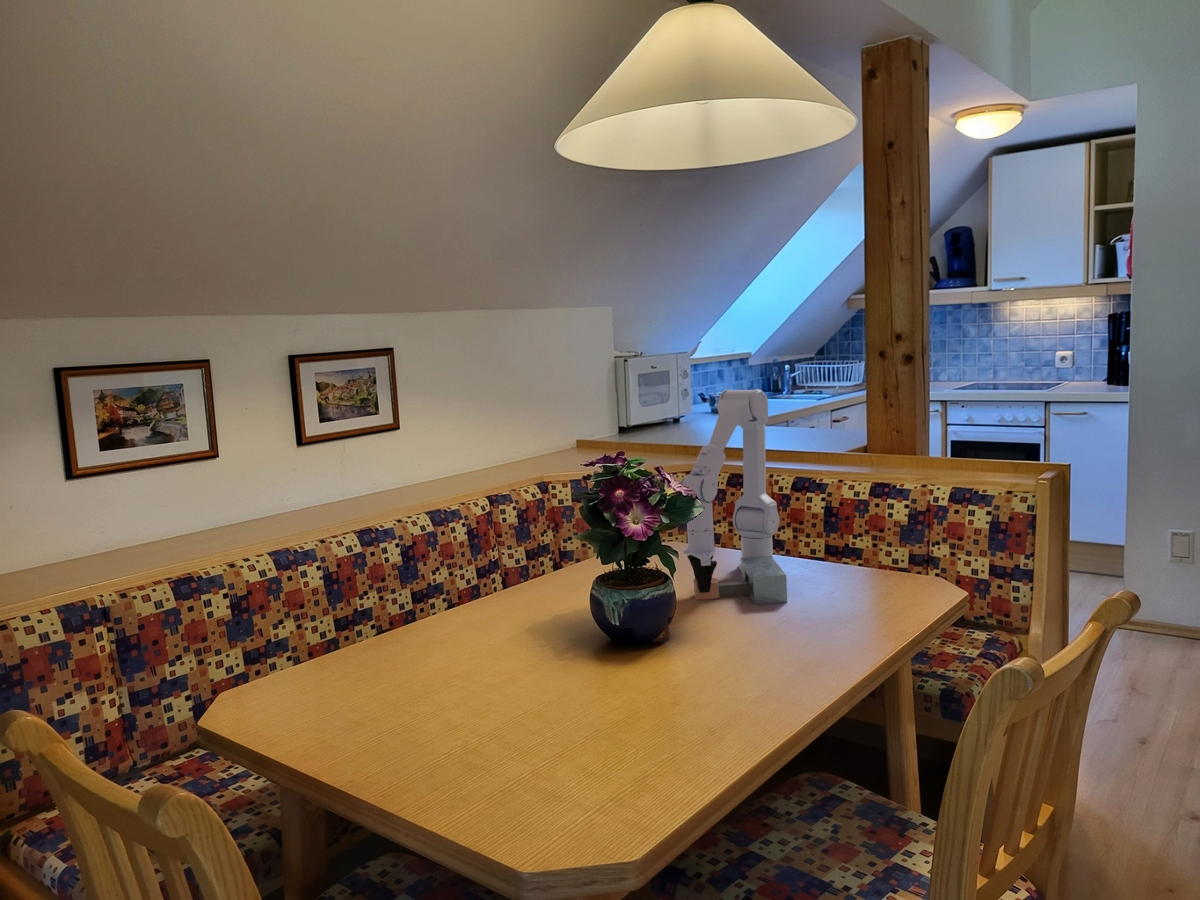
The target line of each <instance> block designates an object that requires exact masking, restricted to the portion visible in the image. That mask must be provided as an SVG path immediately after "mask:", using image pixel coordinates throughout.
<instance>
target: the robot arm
mask: <svg viewBox="0 0 1200 900" xmlns="http://www.w3.org/2000/svg"><path fill="white" fill-rule="evenodd" d="M716 405H717V411H718V416H717V420H716V423H715V426H714V428H713V431H712V433H711V436H710V437H711V438H710V440H709V443H708V444H707V445H704V446H702V447H701V448H700V451H699V453H698V455H697V458H696V460H695V462H694V464H693V467H692V469H691V471H690V472H689V473H690V474H687V475H686V476H685V477H683V478H682V480H681V481H680V485H683V486H686V487H689V488H691V489H692V490H694V491H695V493H696V494H697V497H698V499H699V501H701V502H702V503H703V505H704V506H705V510H704V511H703V512H702V513H701V514H700V515H698V516H697V517H696V518H694V519H693V520H691V521H689V522H688V523H687V522H686V529H687V534H686V535H687V548H683V549H682V554H687V559H688V560H689V564H690V565H691V568H692V570H693V571H692V572H693V574H694V579H697V584H698V588H699V591H700V593H705V592H710V587H711V580H712V578H713V575H714V572H715V569H716V568H717V564H718V563H717V561H716V560H713V558H714V554H716V547H715V535H714V534H715V533H714V532H715V531H714V529H715V528H714V512H713V511H714V510H713V508H714V507H713V501H714V500H715V498H716V496H717V494H718V487H719V486H718V485H719V478H718V476H719V474H720V472H721V469H722V468H723V465H724V463H725V461H726V457H727V456H726V453H725V452H724V450H725V448H726V447H727V445H728V443H729V441H730V440H731V438H732V435H733V433H734V432H735V430H736V428H737V427H738V426H739V427H741V429H742V460H743V461H742V469H743V470H742V471H743V472H742V473H743V474H742V476H743V481H742V482H743V494H742V495H741V496H740V497H739V498H738V499H737V500H736V501H735V502H734V511H733V515H732V524H733V528H734V529H735V530H736V531H737V532H738V536H741V537H740V539H741V540H740V552H741V558H746V557H761V556H771V557H772V558H773V559H774V555H773V554H774V553H773V552H774V549H773V536H774V535H775V533H776V532H777V531H778V529H779V527H780V526H779V525H780V514H779V512H778V507H777V506H778V504H777V502H776V501H775V500H774V499H773V498H772V497H770V496H769V494H767V491H766V490H767V476H766V474H767V473H766V472H767V471H766V469H767V468H766V424H767V423H768V422H769V399H768V396H767V395H766V393H765V392H764V391H763V390H762V389H761V388H757V389H724V390H723V391H721V392H720V395H719V397H718V401H717V404H716ZM737 567H738V568H739V570H740V571H741V563H737Z"/></svg>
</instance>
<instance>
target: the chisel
mask: <svg viewBox="0 0 1200 900" xmlns="http://www.w3.org/2000/svg"><path fill="white" fill-rule="evenodd" d="M693 595H694V597H695V600H707V599H709V600H710V599H711V600H712V599H719V598H723V597H724V598H725V597H736V596H750V593H749V581H743V582H741V581H730V582H719V581H718V579H717V577H712V580H711V587H710V592H705V593H700V591H699V588H698V584H697V579H695V578H694V579H693Z"/></svg>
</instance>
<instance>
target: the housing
mask: <svg viewBox="0 0 1200 900" xmlns="http://www.w3.org/2000/svg"><path fill="white" fill-rule="evenodd" d="M739 558H740V564H741V570H740V577H741V579H740V580H741V581H740V582H743V581H749V593H750V595H749V598H750V599H751V602H752V603H753V604H754V605H766V604H780V603H784V604H785V603H788V592H787V591H788V587H787V583H788V582H787V574H786V573H785V571H784V570H783V569H782V567H781V566H780V565H779V564H778V562H777V561H776V560H775V559H774V557H773V558H772V557H771V556H761V557H746V558H742V557H739Z"/></svg>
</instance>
